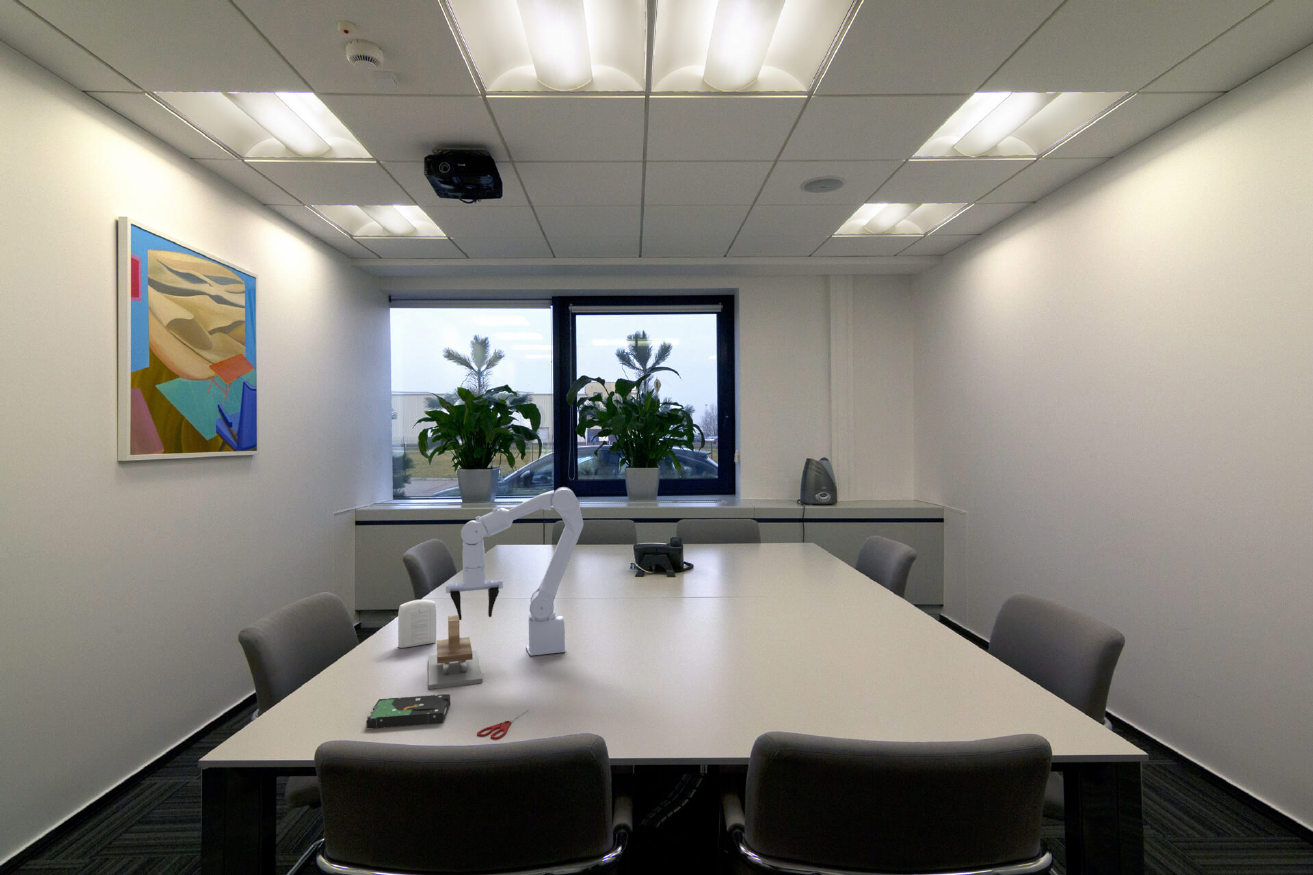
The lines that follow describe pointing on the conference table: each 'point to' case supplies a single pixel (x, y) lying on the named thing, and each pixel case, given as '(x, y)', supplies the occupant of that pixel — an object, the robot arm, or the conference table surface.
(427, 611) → the white upright slab
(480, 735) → the scissors
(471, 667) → the peg stand
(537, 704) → the conference table surface
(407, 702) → the disk drive
